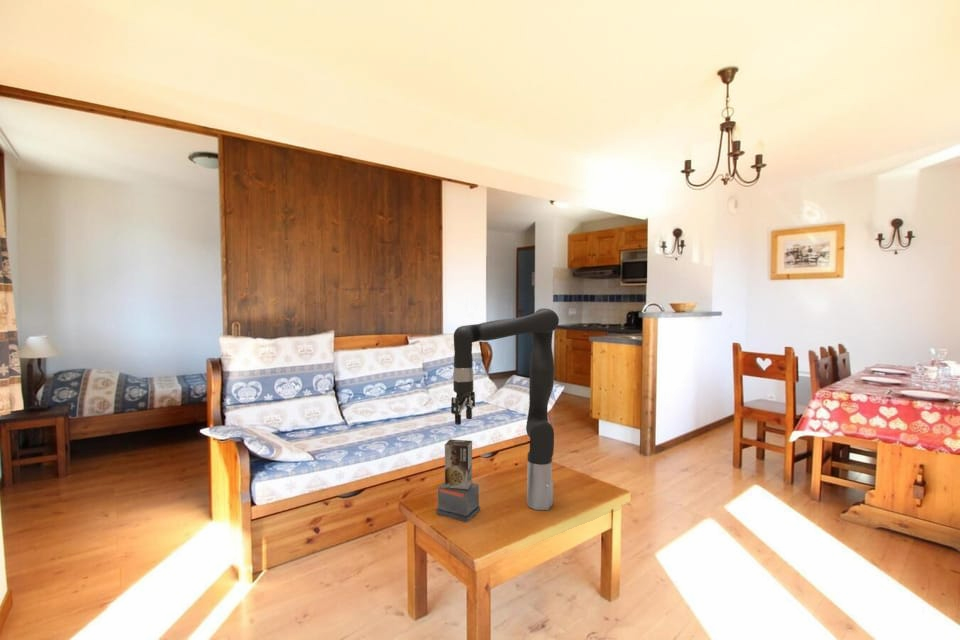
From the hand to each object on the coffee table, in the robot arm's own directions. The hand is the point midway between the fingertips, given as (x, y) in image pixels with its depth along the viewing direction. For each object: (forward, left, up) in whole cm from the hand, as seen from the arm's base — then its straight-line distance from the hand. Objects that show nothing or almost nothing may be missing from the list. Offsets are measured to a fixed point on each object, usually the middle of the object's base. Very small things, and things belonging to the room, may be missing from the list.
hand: (463, 421), depth 170 cm
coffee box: (-1, +6, -23) cm, 23 cm away
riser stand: (-1, +6, -32) cm, 33 cm away
